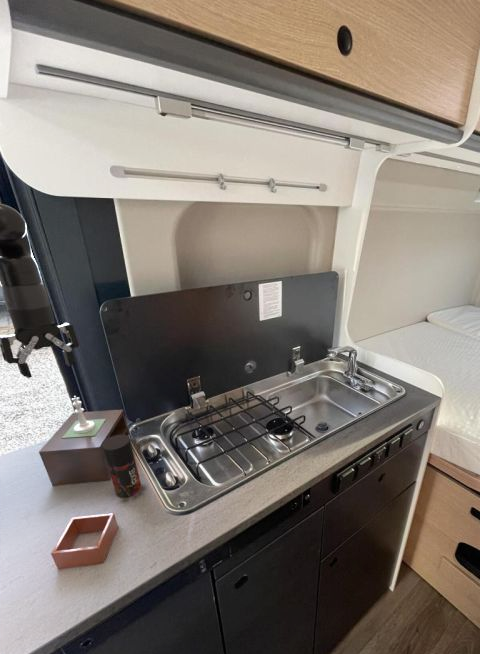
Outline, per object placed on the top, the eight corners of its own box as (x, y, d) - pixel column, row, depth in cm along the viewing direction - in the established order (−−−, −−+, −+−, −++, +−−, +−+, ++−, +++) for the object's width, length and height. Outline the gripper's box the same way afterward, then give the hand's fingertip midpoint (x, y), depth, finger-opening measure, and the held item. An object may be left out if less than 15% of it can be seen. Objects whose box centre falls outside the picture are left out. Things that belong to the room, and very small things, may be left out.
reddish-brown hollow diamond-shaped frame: (57, 569, 65) (50, 554, 63) (77, 531, 73) (71, 517, 71) (103, 563, 66) (98, 548, 64) (118, 527, 74) (114, 512, 72)
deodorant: (123, 480, 87) (110, 434, 81) (145, 481, 87) (134, 434, 81) (111, 497, 82) (96, 449, 75) (134, 498, 81) (121, 450, 75)
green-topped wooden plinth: (52, 485, 85) (38, 451, 80) (82, 442, 101) (72, 412, 96) (109, 480, 87) (99, 446, 82) (130, 439, 103) (123, 408, 98)
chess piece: (96, 429, 89) (86, 397, 84) (74, 435, 86) (63, 402, 82) (94, 420, 92) (85, 389, 88) (73, 426, 90) (63, 394, 86)
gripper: (58, 296, 79) (75, 358, 86) (-19, 307, 69) (7, 376, 75) (72, 301, 75) (88, 365, 82) (-8, 313, 65) (19, 386, 71)
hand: (49, 370), depth 79 cm, fingers open, 8 cm apart
